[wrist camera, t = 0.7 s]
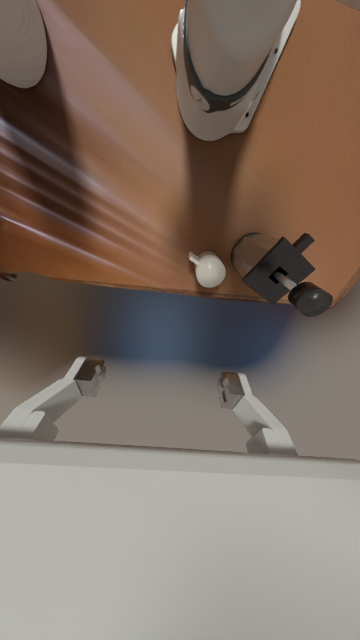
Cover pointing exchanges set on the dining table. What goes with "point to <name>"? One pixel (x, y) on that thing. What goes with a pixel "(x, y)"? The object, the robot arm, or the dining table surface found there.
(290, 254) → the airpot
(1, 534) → the robot arm
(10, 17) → the vase
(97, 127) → the dining table surface
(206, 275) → the diner mug
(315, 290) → the pump plunger
